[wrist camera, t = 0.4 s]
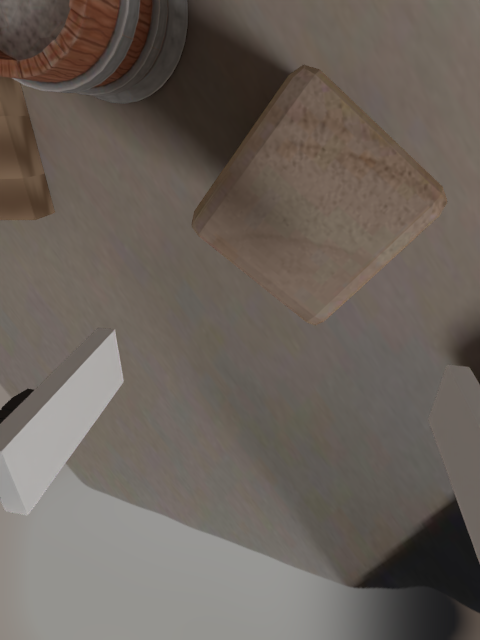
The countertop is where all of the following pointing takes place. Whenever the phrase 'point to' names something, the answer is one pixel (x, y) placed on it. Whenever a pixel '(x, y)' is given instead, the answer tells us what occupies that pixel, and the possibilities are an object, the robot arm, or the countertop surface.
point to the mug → (92, 45)
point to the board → (20, 160)
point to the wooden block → (316, 198)
